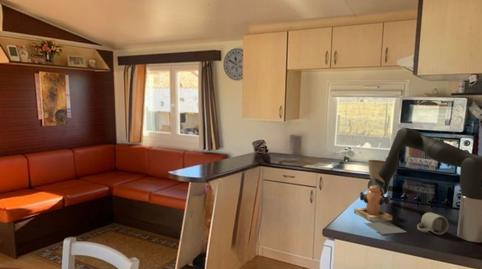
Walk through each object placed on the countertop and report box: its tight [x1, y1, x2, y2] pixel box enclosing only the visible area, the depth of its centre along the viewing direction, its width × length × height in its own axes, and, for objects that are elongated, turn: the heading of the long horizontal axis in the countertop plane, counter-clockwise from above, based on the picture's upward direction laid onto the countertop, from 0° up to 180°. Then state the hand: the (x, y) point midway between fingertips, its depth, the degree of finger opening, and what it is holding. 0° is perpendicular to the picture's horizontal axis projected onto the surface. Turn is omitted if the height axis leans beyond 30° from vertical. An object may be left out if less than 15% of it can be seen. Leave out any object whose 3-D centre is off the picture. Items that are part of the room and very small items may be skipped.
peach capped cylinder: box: [365, 186, 381, 215], centre depth 157 cm, size 7×6×14 cm
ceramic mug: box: [416, 212, 449, 236], centre depth 143 cm, size 11×8×8 cm
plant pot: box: [367, 159, 386, 183], centre depth 220 cm, size 15×15×16 cm
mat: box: [363, 221, 407, 236], centre depth 144 cm, size 12×12×1 cm
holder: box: [353, 207, 393, 223], centre depth 158 cm, size 12×12×2 cm
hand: (373, 201), depth 155 cm, fingers closed on peach capped cylinder, 6 cm apart
